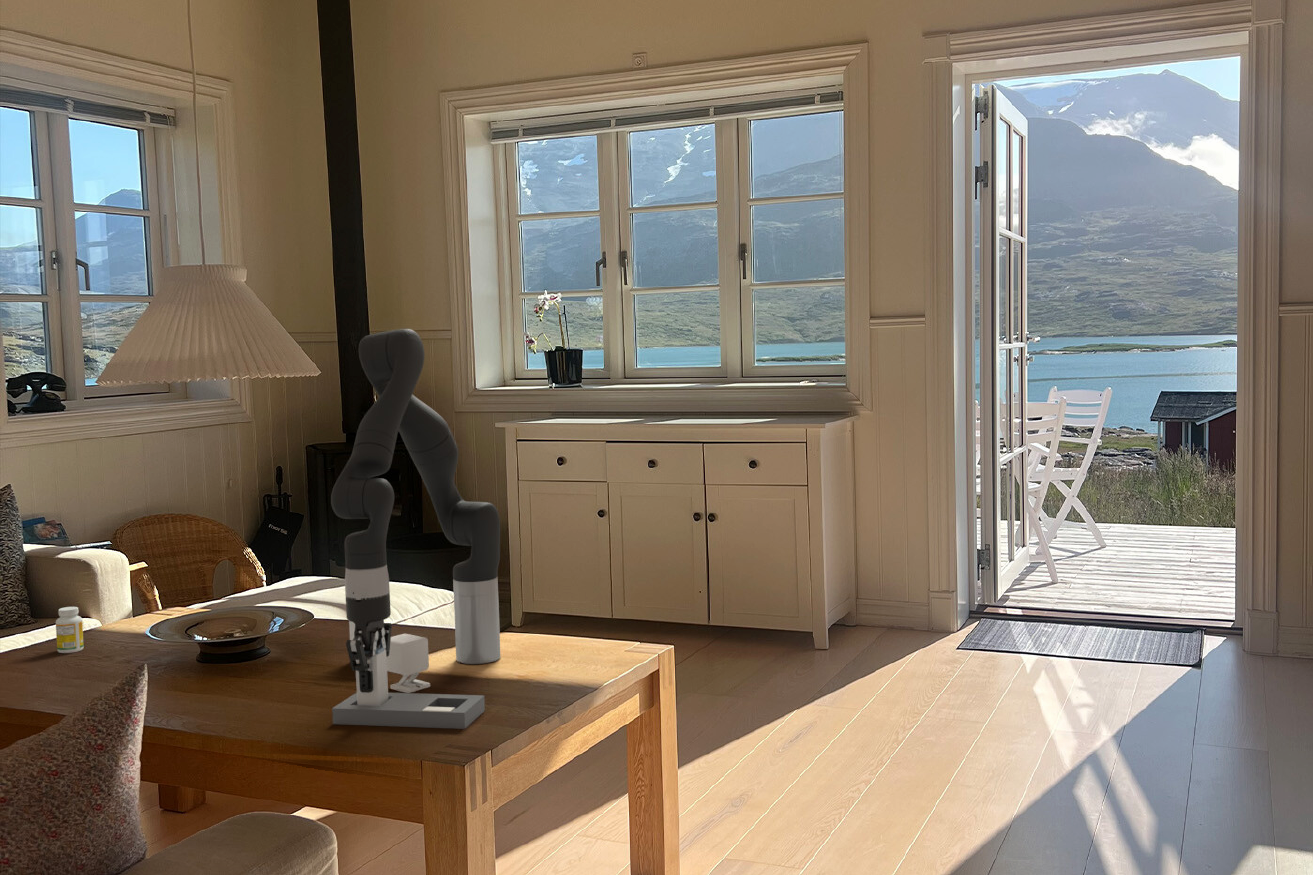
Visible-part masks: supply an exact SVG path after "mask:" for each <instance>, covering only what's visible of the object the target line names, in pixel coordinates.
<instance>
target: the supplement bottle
mask: <svg viewBox="0 0 1313 875" xmlns="http://www.w3.org/2000/svg"><path fill="white" fill-rule="evenodd" d="M57 611H58V616H59V617H58V618H57V619H56V620H55V633H56V635H55V636H56V648H57V650H56V651H57V652H58V653H60V654H70V653H71V654H72V653H73V654H74V653H77V652H81V651H82V650H83V649H85V648H84V627H83V618H82V617H81V616H79V611H80V610H79V607H77V606H66V607H61V608H59V609H58V610H57Z"/></svg>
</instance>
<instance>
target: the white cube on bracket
mask: <svg viewBox="0 0 1313 875" xmlns="http://www.w3.org/2000/svg"><path fill="white" fill-rule="evenodd" d="M386 659H387V672H389V673H390V672H391V673H393V674H394V673H395V674H398V675H401V676H402V677H401V678H400V679H399V682H396V683H393V684H390V689H391V690H395V691H397V692H400V693H414V692H416V691H420V690H424V689H427V688H430V687H431V683H430V682H427V681H424V680H421V679H417V677H418V676H419V674H420V673H421V672H424V671H427V670H428V669H429V667H430V662H429V661H430V657H429V641H428V637H424V636H419V635H413V634H410V633H402V634H397V635H393V636H391V641H390V652H389V656H388V657H386Z"/></svg>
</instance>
